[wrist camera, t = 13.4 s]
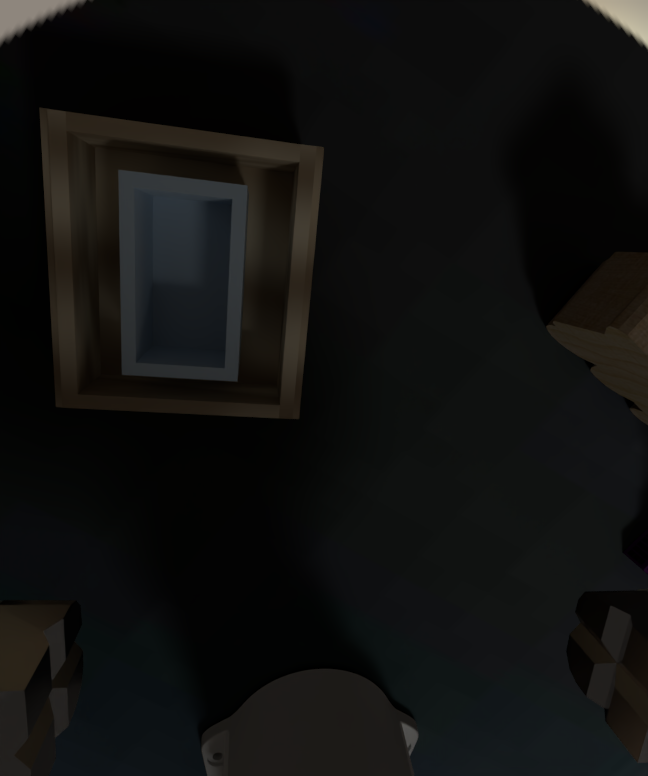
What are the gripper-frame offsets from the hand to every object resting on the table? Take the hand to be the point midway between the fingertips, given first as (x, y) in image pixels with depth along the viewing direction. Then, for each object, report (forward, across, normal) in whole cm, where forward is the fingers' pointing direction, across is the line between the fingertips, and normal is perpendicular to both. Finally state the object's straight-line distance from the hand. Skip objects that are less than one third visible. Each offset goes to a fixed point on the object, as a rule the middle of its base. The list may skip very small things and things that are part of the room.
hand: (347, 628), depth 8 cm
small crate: (+24, -5, +4) cm, 25 cm away
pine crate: (+25, -5, +4) cm, 26 cm away
